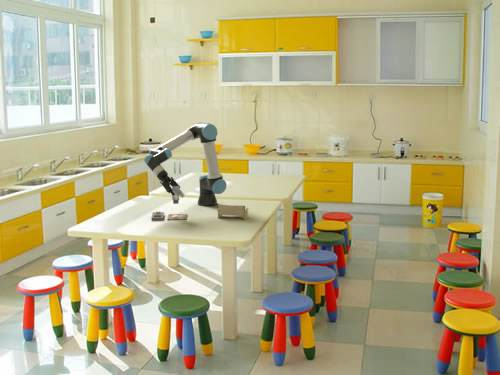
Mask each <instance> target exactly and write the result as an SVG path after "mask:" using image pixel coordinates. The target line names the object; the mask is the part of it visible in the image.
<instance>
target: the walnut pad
mask: <svg viewBox="0 0 500 375" xmlns="http://www.w3.org/2000/svg"><path fill="white" fill-rule="evenodd" d="M187 216H188V213H174V214H172V213H171V214H168V215H167V219H166V220H167V221H187Z"/></svg>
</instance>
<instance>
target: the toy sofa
mask: <svg viewBox="0 0 500 375" xmlns="http://www.w3.org/2000/svg"><path fill="white" fill-rule="evenodd" d="M217 207H218V208H217V209H216V211H217V218H218V219H220V218H221V217H222V216H236V217H237V216H239V217H242V219H243V220H246V219H248V216H249V215H248V213H249V212H248V211H249V207H246V205H228V204H217Z"/></svg>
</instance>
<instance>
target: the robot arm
mask: <svg viewBox="0 0 500 375" xmlns="http://www.w3.org/2000/svg"><path fill="white" fill-rule="evenodd" d="M217 136H218V129H217V126H216V125H215V124H212V123H210V122H198V123H195V124H193V125H190V126H189V127H188V128H186V129H185V130H184V132H182V133H180V134H178V135H177V136H175V137H173V138H171V139H170V140H168V141H166V142H165V143H163V144H160V145H159V146H156V148H151V149H149V151H148V154H147V155H146V156H145V158H144V160H143V161H144V163H145V164H146V166H147V167H148V168H149V170H151V171H152V172H153V174H154V175H155V176H156V178H157V179H158V181H159V184H160V185H162V187H163V188H164V190H165V191H166V192H167V193H168V194H171V196H172V195H173V196H174V198H175V199H176V200H177V199H178V198H179V199H180V197H181V199H183V198H184V197H185V194H184V192H183V191H182V190H181V186H180V184H178V182H177V181H176V180H175V179H174V178H173V177H172V176H171V177H169V175H168V172H167V170H165V168H164V166H163V165H161V164H163V163H165V162H166V161H168V160H170V159H171V158H172V157H173V154H172V151H174V150H176V149H177V148H179V147H181V146H182V145H185V144H186V143H189V142H190V141H194V140H196V139H199V141H200V143H201V144H202V146H203V151H204V156H205V163H206V167H207V172H208V174H203V175H200V176H199V196H198V199H197V205H198V206H201V207H204V206H205V207H211V206H216V205H218V200H217V196H216V195H222V194H223V193H224V192H226V189H227V187H228V186H227V182H226V181H225V179H224V176H223V174H221V172H220V166H219V161H218V156H217V155H218V154H217V148H216V144H215V142H216V141H217ZM172 186H179V196H178V195H177V194H176V193H175V191H174V190H173V191H172Z"/></svg>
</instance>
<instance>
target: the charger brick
mask: <svg viewBox="0 0 500 375" xmlns="http://www.w3.org/2000/svg"><path fill="white" fill-rule="evenodd" d="M179 186H180V185H179ZM179 186H171V188H172V191H173V190H174V191H175V193H176V194H177V195H178V196H179V198H178V199H177V200H176V199H175V198H174V196H173V195H172V194H171V196H172V200H171V201H172V203H173V205H174V204H176V205H177V204H179V202H180V195H179Z"/></svg>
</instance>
